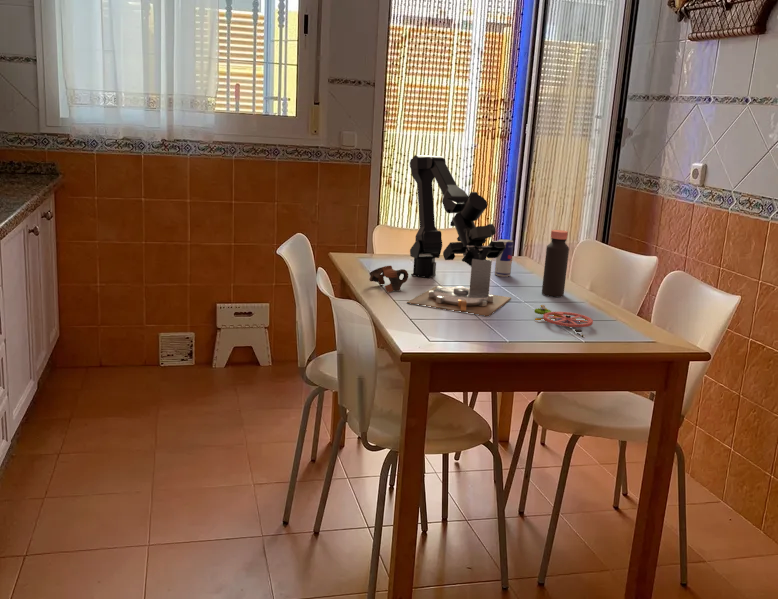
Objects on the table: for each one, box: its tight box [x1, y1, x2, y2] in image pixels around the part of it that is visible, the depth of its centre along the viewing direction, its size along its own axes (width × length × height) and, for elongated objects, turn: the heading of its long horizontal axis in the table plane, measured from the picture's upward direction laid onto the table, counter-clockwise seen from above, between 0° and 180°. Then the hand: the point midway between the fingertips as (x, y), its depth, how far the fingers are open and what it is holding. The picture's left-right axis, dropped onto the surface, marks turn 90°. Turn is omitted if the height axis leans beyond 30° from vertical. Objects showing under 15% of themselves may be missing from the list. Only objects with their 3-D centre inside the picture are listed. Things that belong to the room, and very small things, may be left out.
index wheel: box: [428, 258, 494, 307], centre depth 232 cm, size 18×18×12 cm
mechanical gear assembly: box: [534, 304, 594, 333], centre depth 218 cm, size 30×4×15 cm
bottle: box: [541, 229, 570, 298], centre depth 246 cm, size 7×7×20 cm
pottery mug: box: [369, 265, 409, 293], centre depth 244 cm, size 12×10×8 cm
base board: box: [406, 285, 512, 317], centre depth 233 cm, size 24×24×3 cm
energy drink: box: [494, 238, 514, 278], centre depth 271 cm, size 5×5×12 cm
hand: (483, 274), depth 232 cm, fingers closed
